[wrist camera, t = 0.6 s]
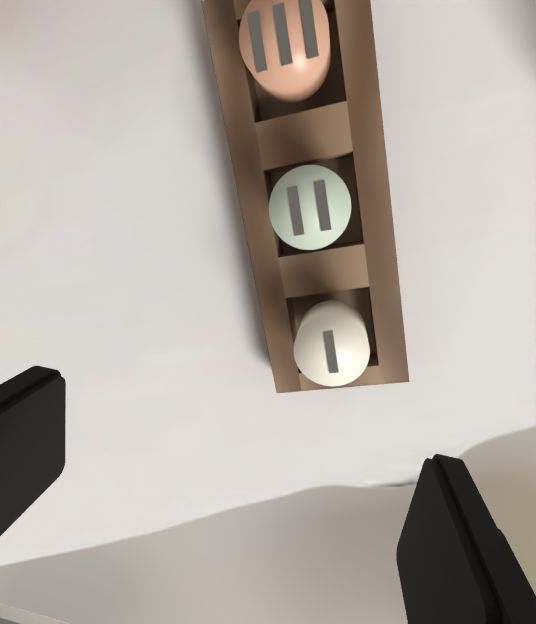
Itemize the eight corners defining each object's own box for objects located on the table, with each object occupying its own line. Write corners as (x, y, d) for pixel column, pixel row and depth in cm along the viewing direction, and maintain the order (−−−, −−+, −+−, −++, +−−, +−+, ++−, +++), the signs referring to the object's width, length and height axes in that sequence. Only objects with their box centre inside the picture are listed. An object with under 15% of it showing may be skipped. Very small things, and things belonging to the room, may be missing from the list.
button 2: (344, 162, 26) (345, 156, 22) (354, 236, 27) (356, 242, 23) (273, 177, 27) (261, 174, 23) (285, 248, 28) (276, 256, 24)
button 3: (324, 5, 24) (321, -33, 20) (335, 92, 25) (334, 73, 21) (247, 27, 25) (230, -4, 21) (261, 110, 26) (247, 95, 22)
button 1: (361, 295, 28) (364, 311, 24) (369, 358, 29) (373, 383, 25) (294, 305, 29) (287, 321, 25) (305, 365, 30) (299, 390, 26)
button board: (362, -23, 25) (365, -51, 22) (403, 365, 32) (409, 381, 29) (215, 22, 27) (201, 1, 25) (282, 376, 34) (276, 393, 31)
